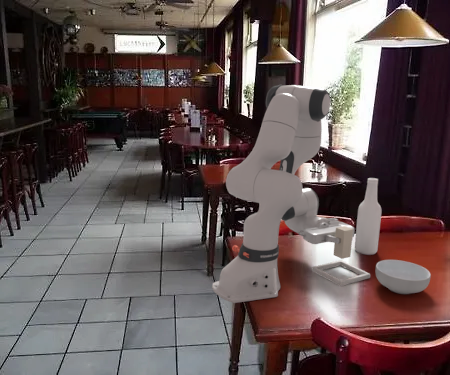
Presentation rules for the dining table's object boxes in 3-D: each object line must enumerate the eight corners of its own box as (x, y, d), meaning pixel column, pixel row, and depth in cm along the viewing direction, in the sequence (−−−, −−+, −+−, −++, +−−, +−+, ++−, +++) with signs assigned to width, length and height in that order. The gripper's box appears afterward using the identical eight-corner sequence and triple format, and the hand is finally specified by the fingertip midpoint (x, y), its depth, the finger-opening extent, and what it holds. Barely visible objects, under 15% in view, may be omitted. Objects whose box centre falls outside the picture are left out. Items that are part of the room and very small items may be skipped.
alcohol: (349, 250, 177) (356, 177, 171) (363, 245, 183) (370, 175, 176) (368, 256, 171) (376, 181, 164) (381, 252, 176) (389, 179, 169)
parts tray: (340, 286, 144) (341, 281, 144) (312, 270, 156) (312, 266, 156) (369, 277, 151) (370, 273, 151) (340, 263, 163) (340, 260, 163)
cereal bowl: (425, 306, 132) (428, 284, 131) (369, 292, 140) (371, 272, 138) (430, 285, 147) (432, 265, 145) (378, 274, 155) (381, 255, 153)
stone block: (341, 258, 149) (344, 230, 147) (333, 254, 152) (336, 227, 150) (350, 256, 151) (353, 229, 149) (341, 253, 154) (344, 226, 152)
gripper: (296, 224, 155) (323, 235, 144) (338, 217, 166) (366, 227, 154) (295, 240, 157) (321, 253, 145) (336, 233, 167) (364, 244, 155)
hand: (345, 240), depth 150 cm, fingers closed on stone block, 4 cm apart
